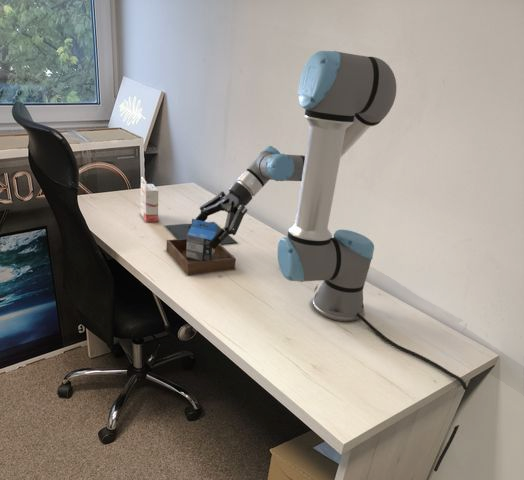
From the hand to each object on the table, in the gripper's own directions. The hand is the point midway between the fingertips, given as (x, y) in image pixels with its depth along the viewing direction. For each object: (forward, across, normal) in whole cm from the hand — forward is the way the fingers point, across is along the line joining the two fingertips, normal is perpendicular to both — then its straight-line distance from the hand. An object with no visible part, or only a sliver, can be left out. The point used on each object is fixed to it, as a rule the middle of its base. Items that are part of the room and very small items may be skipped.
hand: (200, 238), depth 155 cm
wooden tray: (+5, 0, -5) cm, 8 cm away
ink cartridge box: (+6, +39, -5) cm, 40 cm away
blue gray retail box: (+5, 0, -5) cm, 7 cm away
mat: (-2, +19, -13) cm, 23 cm away
